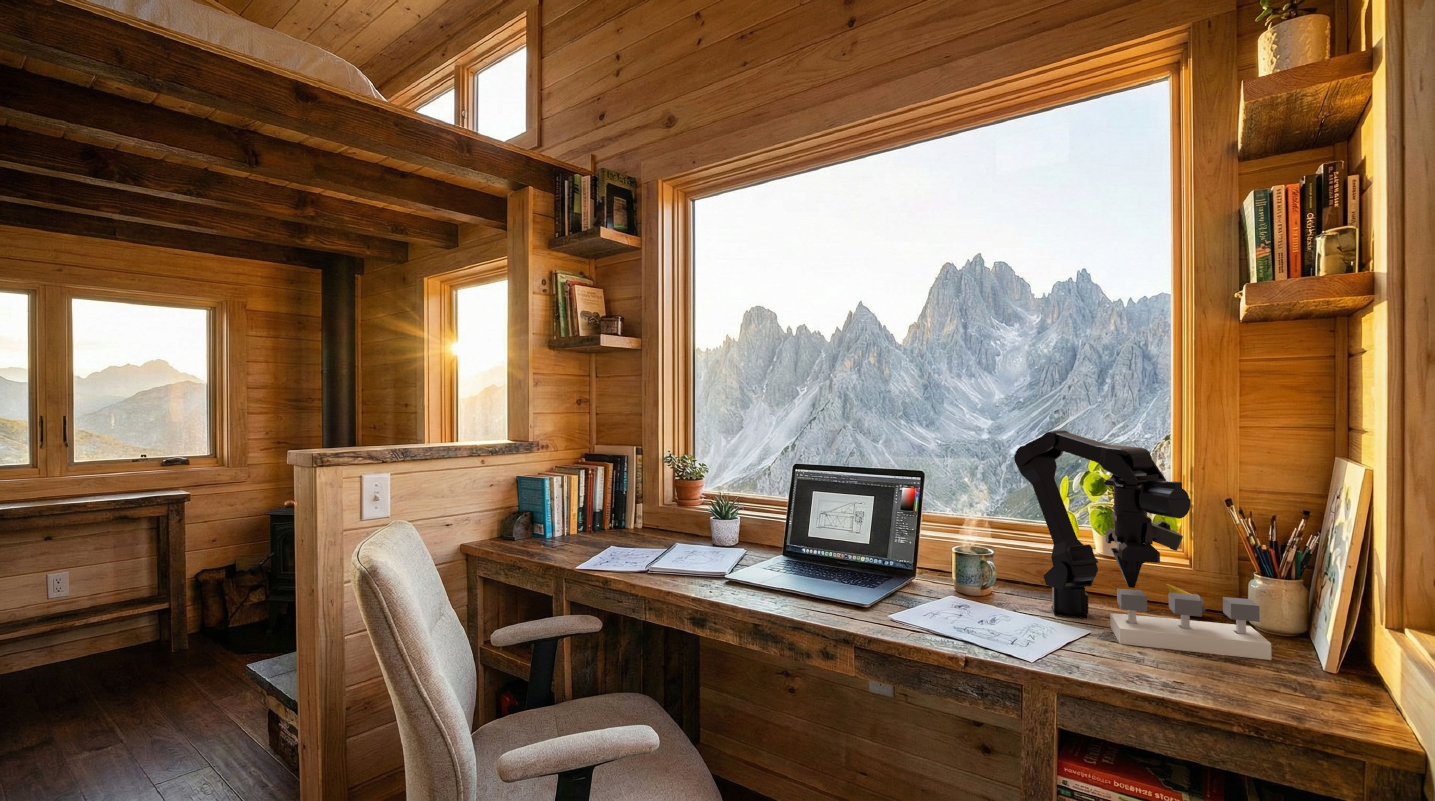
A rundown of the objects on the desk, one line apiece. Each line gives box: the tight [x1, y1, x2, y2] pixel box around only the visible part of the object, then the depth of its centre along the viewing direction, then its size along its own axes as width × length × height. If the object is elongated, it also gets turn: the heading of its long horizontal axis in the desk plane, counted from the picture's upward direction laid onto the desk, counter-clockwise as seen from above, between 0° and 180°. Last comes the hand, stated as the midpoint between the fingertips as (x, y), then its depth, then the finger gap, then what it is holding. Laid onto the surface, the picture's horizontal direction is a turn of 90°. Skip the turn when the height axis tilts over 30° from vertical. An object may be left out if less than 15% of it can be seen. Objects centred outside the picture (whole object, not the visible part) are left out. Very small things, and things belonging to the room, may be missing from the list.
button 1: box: [1116, 588, 1148, 623], centre depth 133 cm, size 4×4×6 cm
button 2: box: [1222, 596, 1261, 634], centre depth 126 cm, size 4×4×6 cm
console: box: [1109, 612, 1272, 661], centre depth 130 cm, size 24×10×3 cm, turn 68°
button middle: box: [1168, 592, 1203, 629], centre depth 130 cm, size 4×4×6 cm
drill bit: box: [1165, 583, 1207, 616], centre depth 146 cm, size 5×5×10 cm
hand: (1131, 587), depth 133 cm, fingers closed
